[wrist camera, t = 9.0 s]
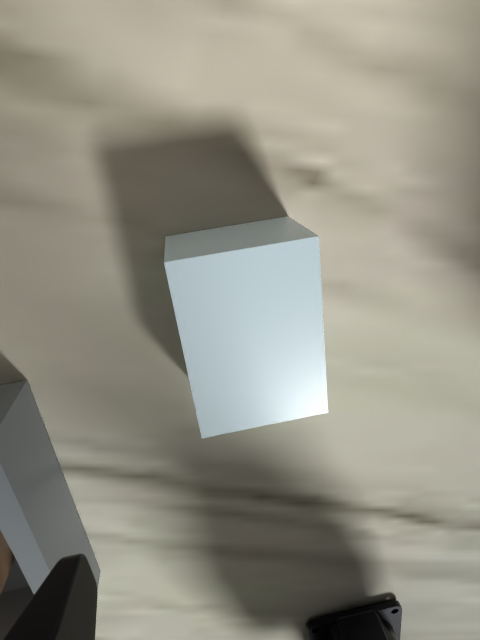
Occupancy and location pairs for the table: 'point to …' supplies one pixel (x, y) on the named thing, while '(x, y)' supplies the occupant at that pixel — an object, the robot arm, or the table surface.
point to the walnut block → (4, 561)
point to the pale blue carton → (250, 322)
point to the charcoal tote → (32, 503)
